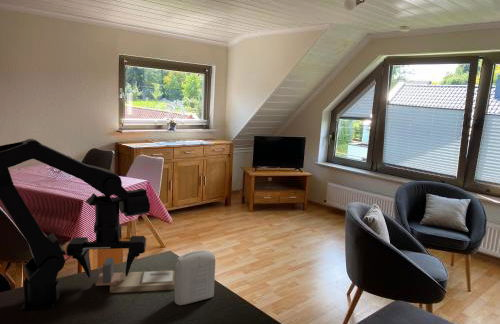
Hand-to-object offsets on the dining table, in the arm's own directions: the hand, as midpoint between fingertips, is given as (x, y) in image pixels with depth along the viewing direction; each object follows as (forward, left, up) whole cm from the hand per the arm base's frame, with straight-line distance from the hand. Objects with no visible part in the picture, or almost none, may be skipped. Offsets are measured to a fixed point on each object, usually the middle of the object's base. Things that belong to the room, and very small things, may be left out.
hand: (108, 276), depth 99 cm
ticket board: (+9, 0, -2) cm, 9 cm away
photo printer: (+22, -9, -3) cm, 24 cm away
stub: (0, 0, -1) cm, 1 cm away
